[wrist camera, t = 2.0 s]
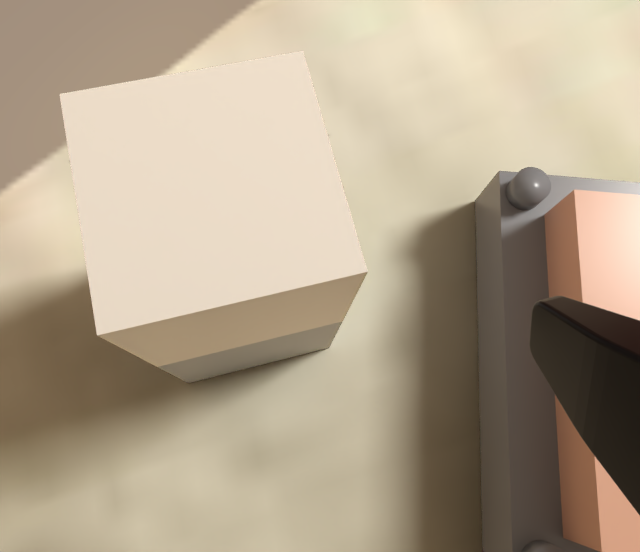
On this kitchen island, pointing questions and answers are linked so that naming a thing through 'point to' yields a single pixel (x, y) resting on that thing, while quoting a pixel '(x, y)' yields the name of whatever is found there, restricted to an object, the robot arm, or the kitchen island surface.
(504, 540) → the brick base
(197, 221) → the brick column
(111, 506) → the kitchen island surface
